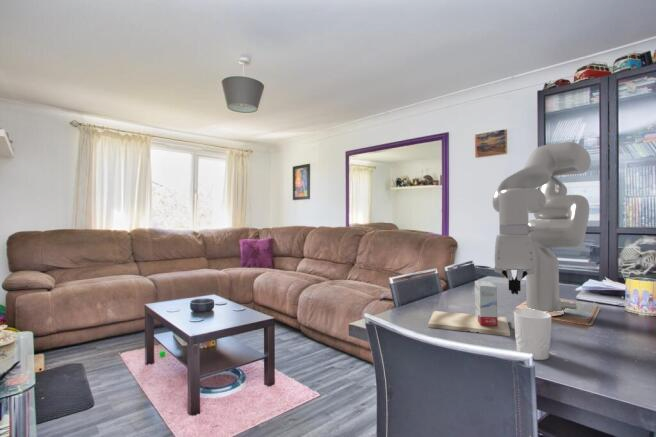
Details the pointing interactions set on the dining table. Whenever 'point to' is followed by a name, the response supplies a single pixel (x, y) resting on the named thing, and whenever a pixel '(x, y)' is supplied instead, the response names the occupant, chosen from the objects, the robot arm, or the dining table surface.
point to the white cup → (533, 332)
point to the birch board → (467, 323)
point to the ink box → (486, 303)
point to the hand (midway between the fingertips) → (514, 293)
